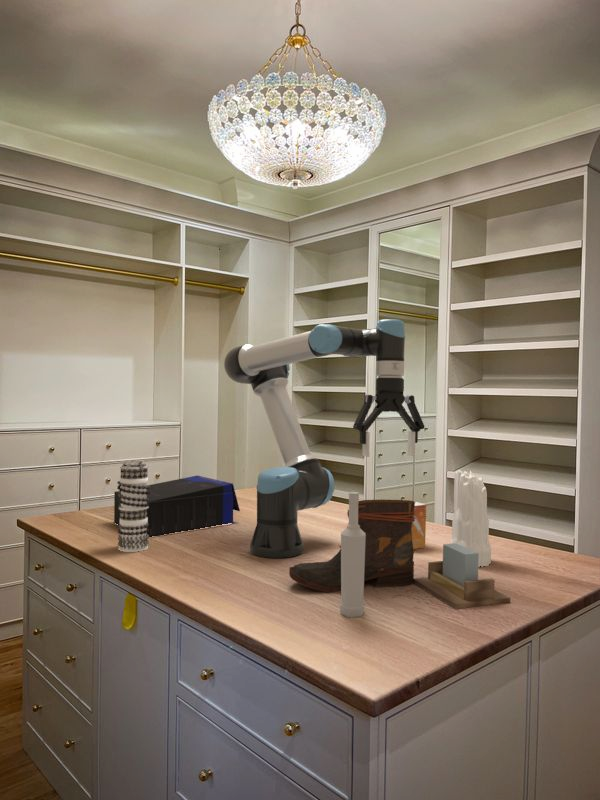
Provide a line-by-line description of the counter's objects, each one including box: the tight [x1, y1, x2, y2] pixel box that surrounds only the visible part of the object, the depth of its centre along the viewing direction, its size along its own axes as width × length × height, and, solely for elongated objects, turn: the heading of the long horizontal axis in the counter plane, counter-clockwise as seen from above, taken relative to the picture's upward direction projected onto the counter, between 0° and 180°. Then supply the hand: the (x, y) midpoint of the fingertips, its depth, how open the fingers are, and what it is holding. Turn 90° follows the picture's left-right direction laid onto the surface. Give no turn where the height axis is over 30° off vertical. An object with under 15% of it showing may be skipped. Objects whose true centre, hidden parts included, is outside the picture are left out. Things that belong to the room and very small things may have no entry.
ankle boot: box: [288, 499, 416, 593], centre depth 143 cm, size 11×31×20 cm, turn 102°
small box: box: [411, 501, 427, 550], centre depth 177 cm, size 8×6×13 cm
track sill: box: [413, 560, 511, 610], centre depth 137 cm, size 14×18×5 cm
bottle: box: [339, 491, 366, 618], centre depth 123 cm, size 5×5×25 cm
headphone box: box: [113, 475, 241, 538], centre depth 204 cm, size 25×35×14 cm
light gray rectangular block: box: [442, 543, 479, 587], centre depth 137 cm, size 4×9×9 cm, turn 18°
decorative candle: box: [117, 460, 150, 553], centre depth 171 cm, size 9×9×25 cm
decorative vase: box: [449, 469, 492, 568], centre depth 162 cm, size 11×11×25 cm
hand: (388, 455), depth 161 cm, fingers open, 13 cm apart
